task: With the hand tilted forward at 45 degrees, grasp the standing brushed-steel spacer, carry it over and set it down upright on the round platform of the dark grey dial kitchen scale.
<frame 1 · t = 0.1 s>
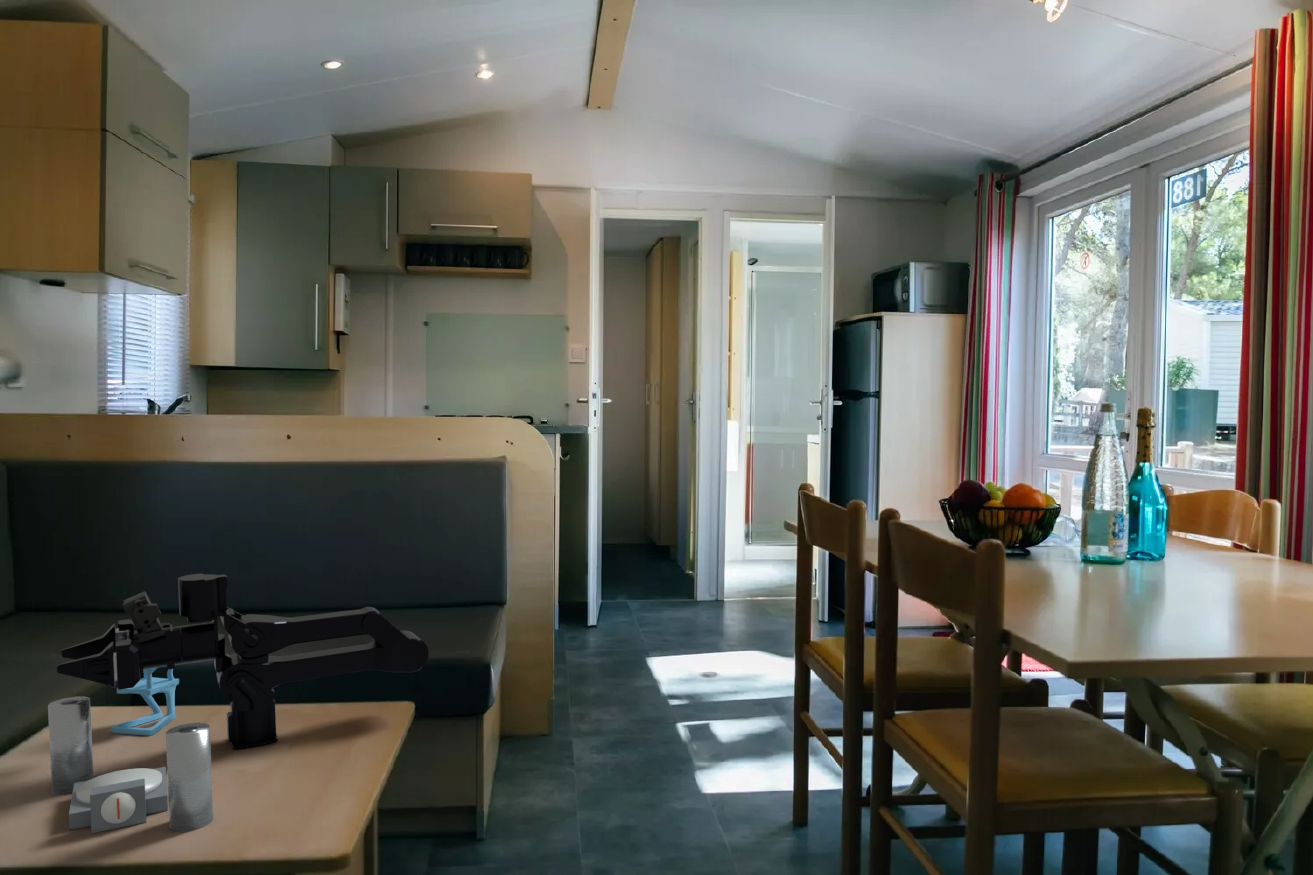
hand: (59, 660, 136), 17 cm above the table, tool horizontal, fingers open, 9 cm apart
spacer 2: (73, 786, 132), on the table
chair: (150, 726, 156), on the table
spacer: (191, 822, 120), on the table
scale: (120, 803, 126), on the table
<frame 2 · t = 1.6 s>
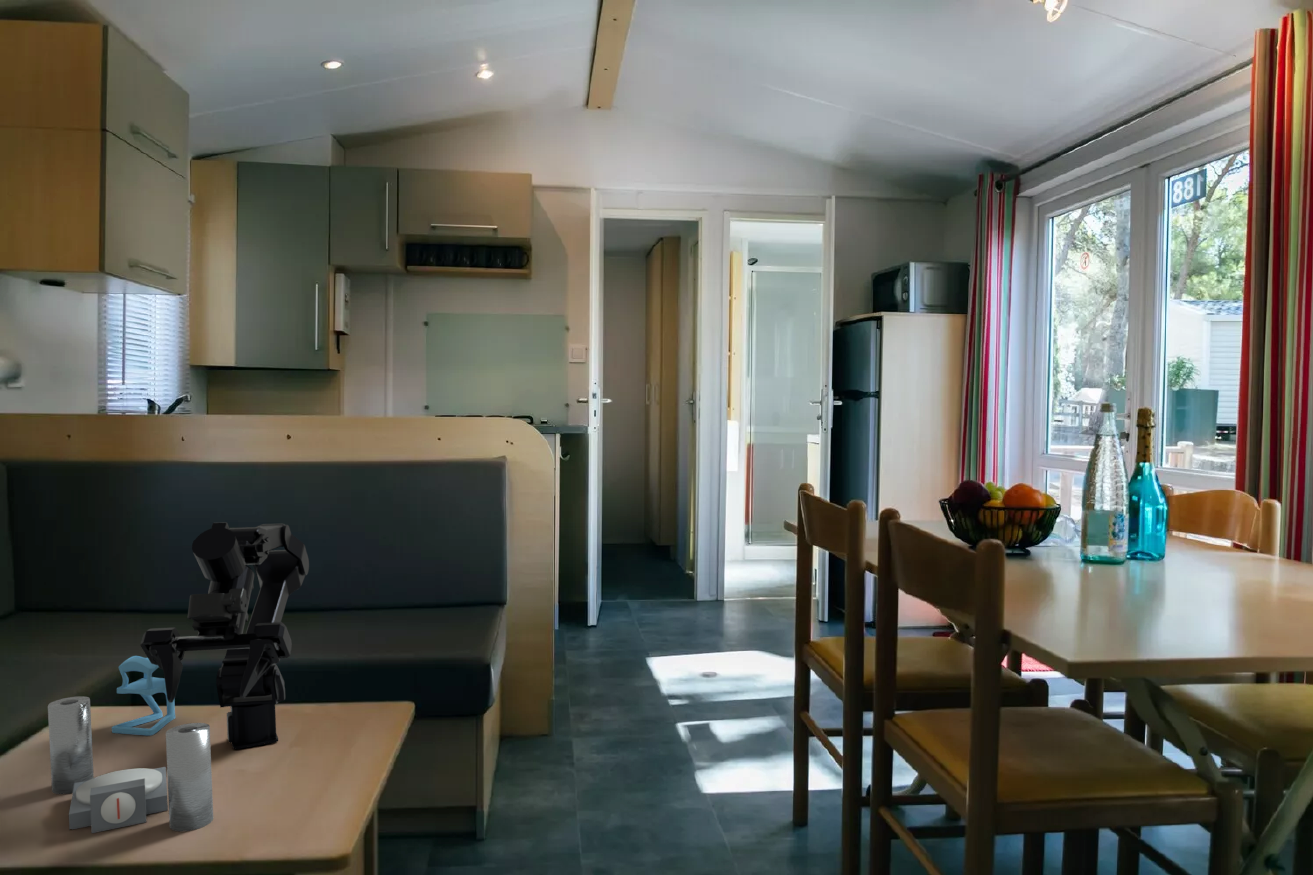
hand: (206, 698, 127), 14 cm above the table, tool tilted 45°, fingers open, 9 cm apart
nothing on the table moved.
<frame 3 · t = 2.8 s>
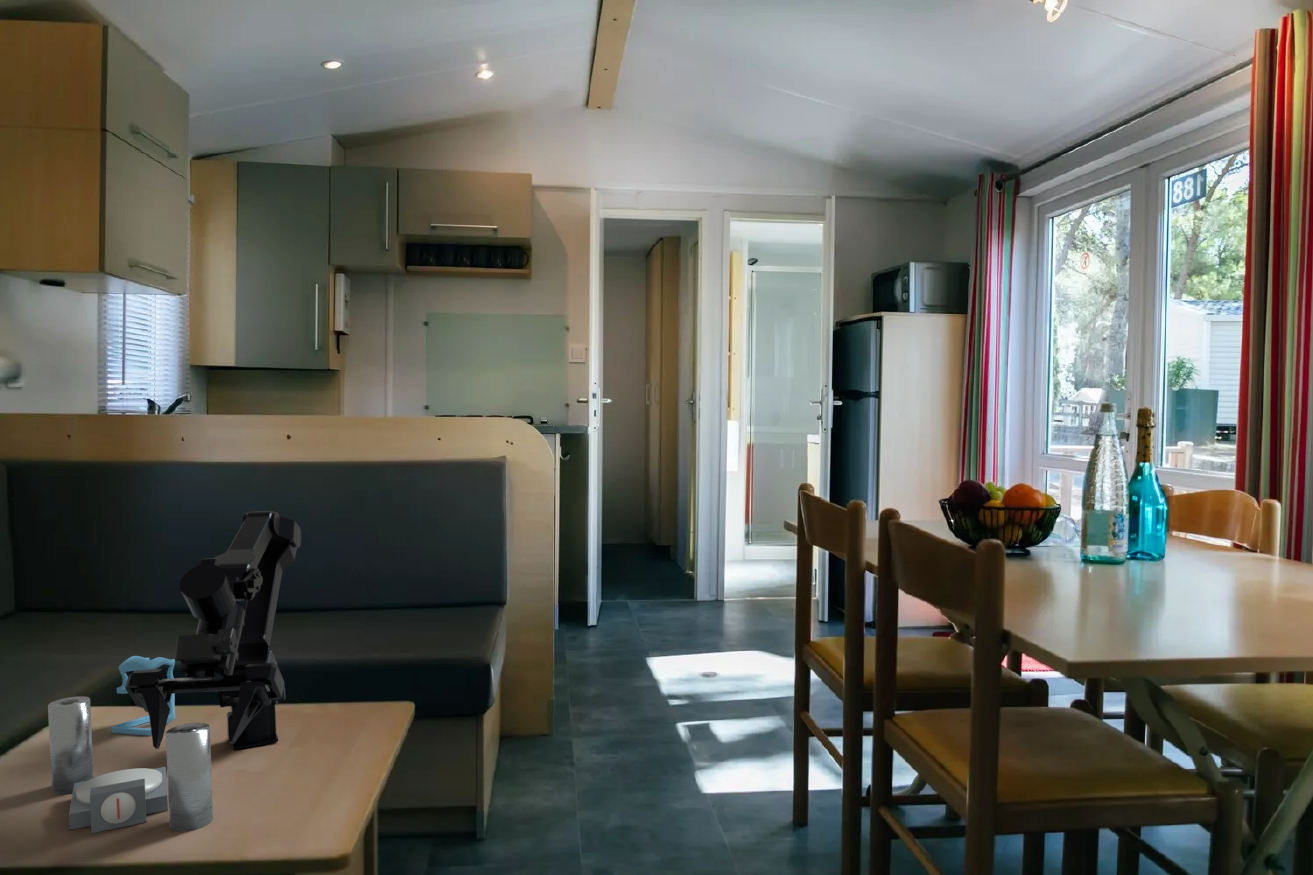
hand: (193, 744, 122), 9 cm above the table, tool tilted 45°, fingers open, 9 cm apart
nothing on the table moved.
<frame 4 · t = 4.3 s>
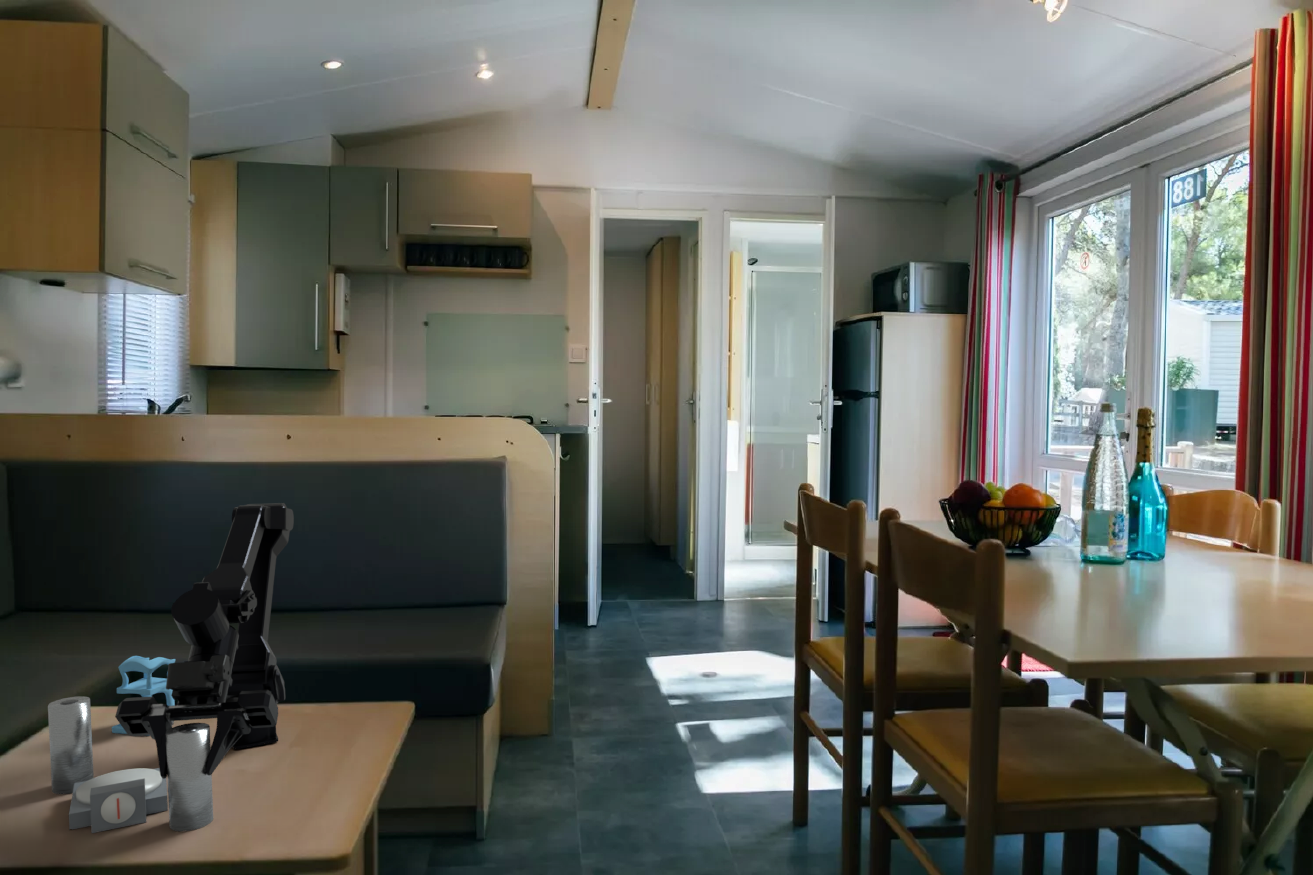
hand: (185, 775, 119), 7 cm above the table, tool tilted 45°, fingers closed on spacer, 5 cm apart
spacer: (191, 822, 120), on the table, touching gripper
everything else where it was.
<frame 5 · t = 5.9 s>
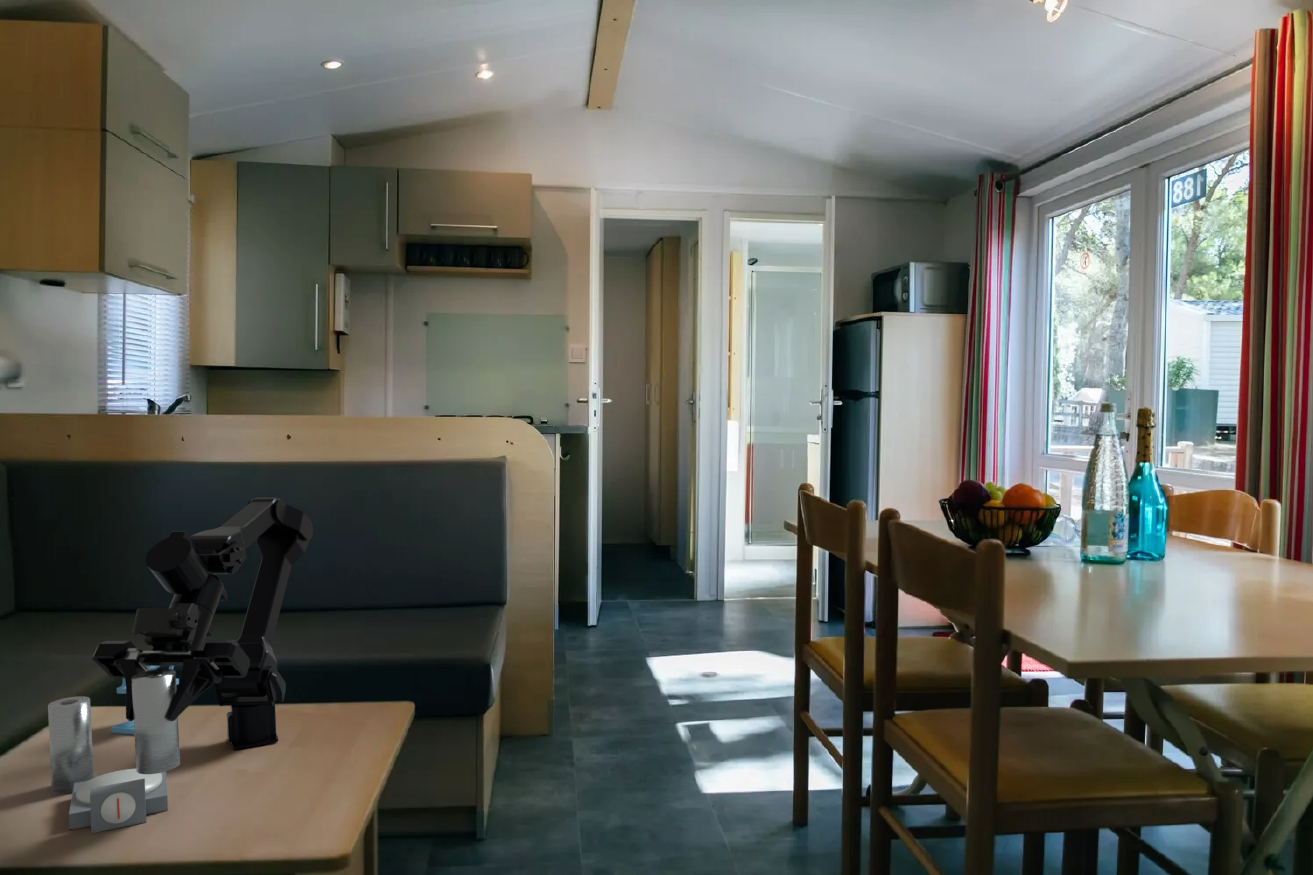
hand: (149, 719, 120), 13 cm above the table, tool tilted 45°, fingers closed on spacer, 5 cm apart
spacer: (158, 766, 122), point 7 cm above the table, touching gripper
everything else where it was.
when the fingers open (11 cm above the table, at t = 7.5 s): spacer drops 1 cm, resting on scale.
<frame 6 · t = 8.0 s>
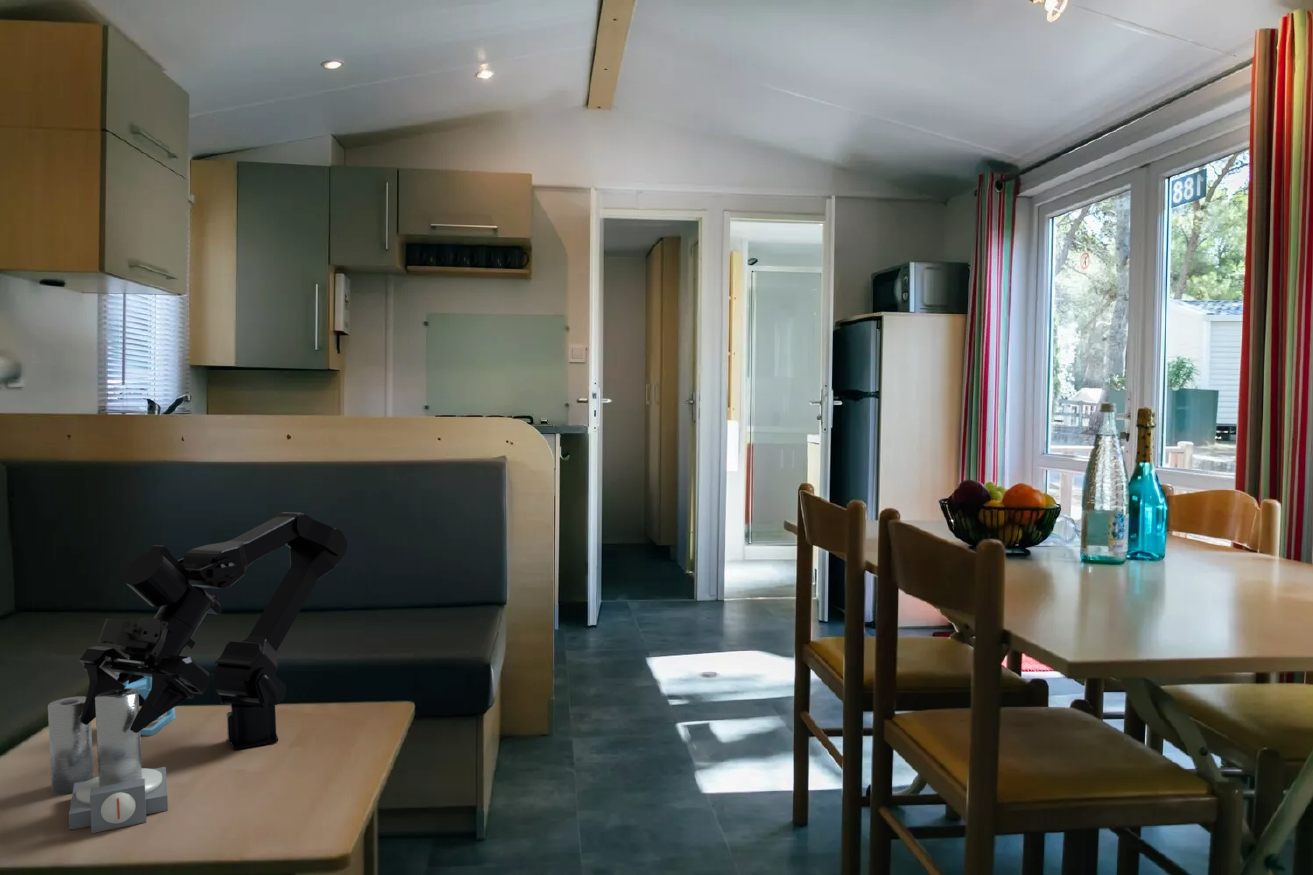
hand: (107, 727, 124), 11 cm above the table, tool tilted 45°, fingers open, 9 cm apart
spacer: (120, 782, 126), point 3 cm above the table, touching scale
everything else where it was.
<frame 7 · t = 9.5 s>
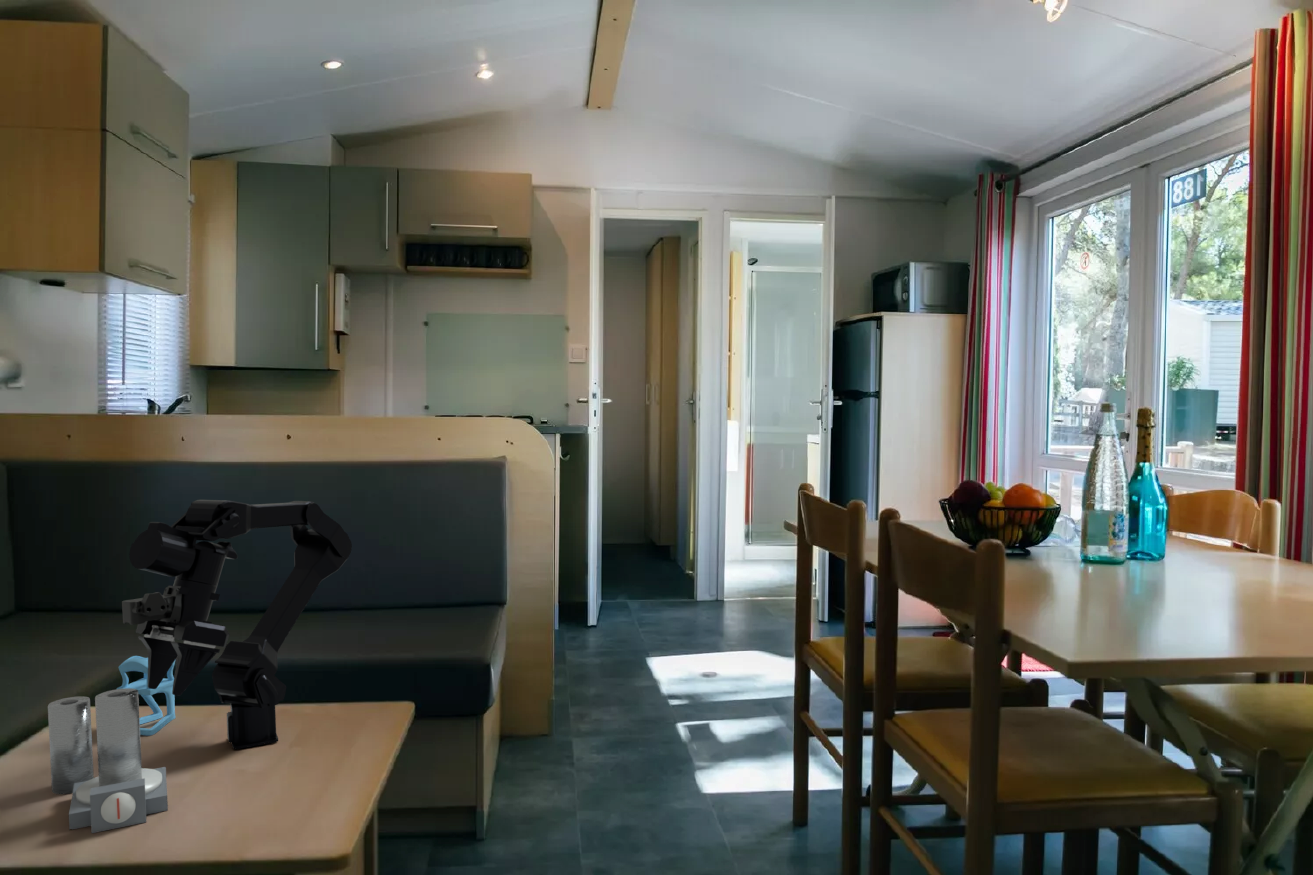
hand: (163, 691, 134), 12 cm above the table, tool tilted 20°, fingers open, 9 cm apart
nothing on the table moved.
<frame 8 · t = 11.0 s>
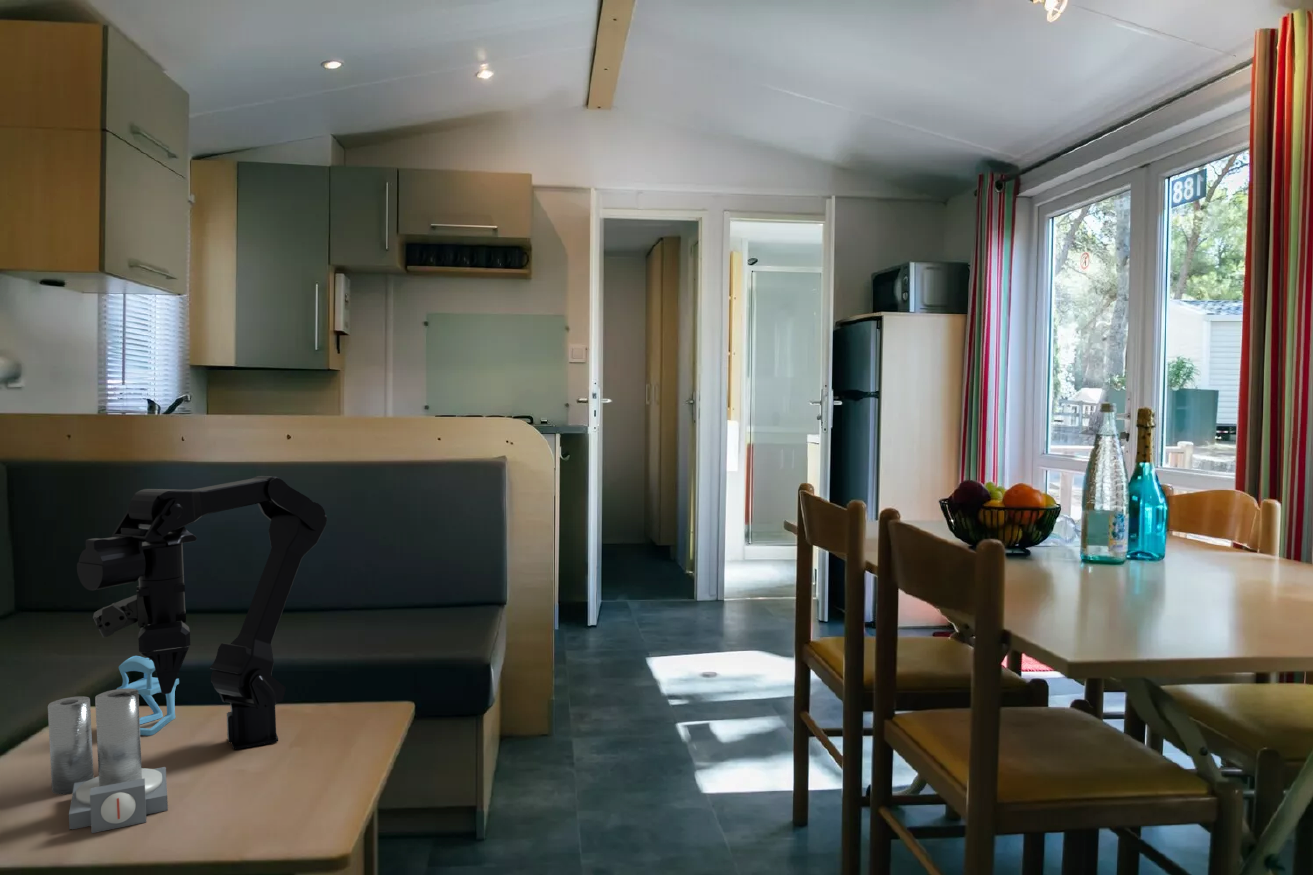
hand: (165, 684, 135), 13 cm above the table, tool pointing down, fingers open, 9 cm apart
nothing on the table moved.
at the end: spacer inside the target area on the scale (0.1 cm from its centre), point 2.8 cm above the scale's base; spacer tilted 0°; the gripper is holding nothing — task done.
